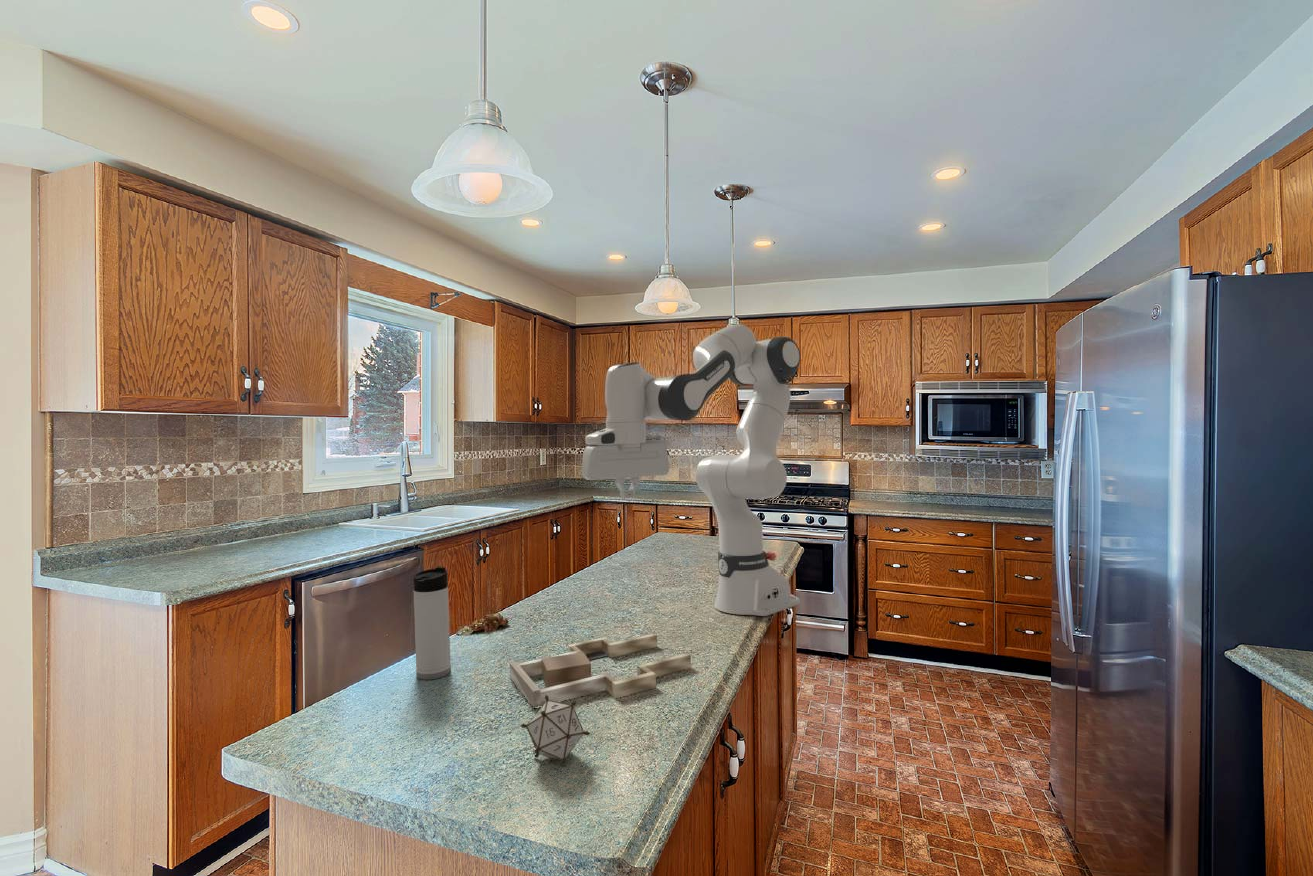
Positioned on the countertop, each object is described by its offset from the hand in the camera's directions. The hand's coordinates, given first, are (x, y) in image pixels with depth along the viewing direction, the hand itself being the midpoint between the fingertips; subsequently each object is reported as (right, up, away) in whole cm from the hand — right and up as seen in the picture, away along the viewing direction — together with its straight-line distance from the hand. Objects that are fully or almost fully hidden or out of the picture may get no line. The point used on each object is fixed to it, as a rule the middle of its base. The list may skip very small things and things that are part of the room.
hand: (627, 498), depth 131 cm
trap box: (-4, -32, -18) cm, 37 cm away
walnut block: (-10, -32, -21) cm, 40 cm away
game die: (-8, -32, -47) cm, 58 cm away
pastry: (-35, -33, +9) cm, 49 cm away
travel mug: (-37, -33, -16) cm, 52 cm away
